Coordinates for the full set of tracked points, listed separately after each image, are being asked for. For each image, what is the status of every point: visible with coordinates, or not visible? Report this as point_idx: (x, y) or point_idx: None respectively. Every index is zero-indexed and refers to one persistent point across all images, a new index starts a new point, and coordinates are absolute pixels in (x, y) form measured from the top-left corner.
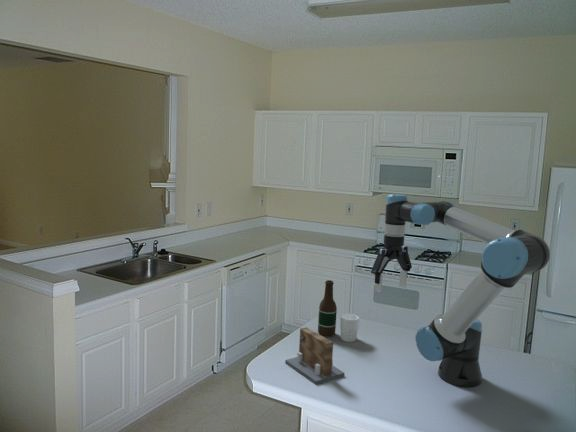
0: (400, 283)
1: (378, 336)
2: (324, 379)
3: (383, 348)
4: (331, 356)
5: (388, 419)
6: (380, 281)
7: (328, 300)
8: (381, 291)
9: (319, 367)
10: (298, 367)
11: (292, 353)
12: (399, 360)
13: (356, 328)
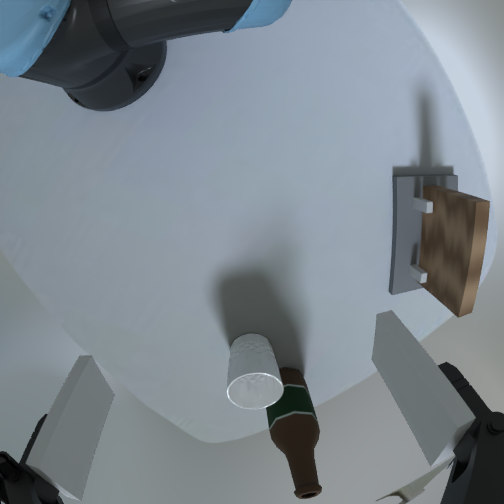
0: (103, 404)
1: (163, 337)
2: (440, 175)
3: (193, 274)
4: (452, 194)
5: (400, 9)
6: (441, 377)
7: (308, 444)
8: (380, 318)
9: None
10: None
11: (411, 313)
12: (197, 192)
13: (244, 355)
